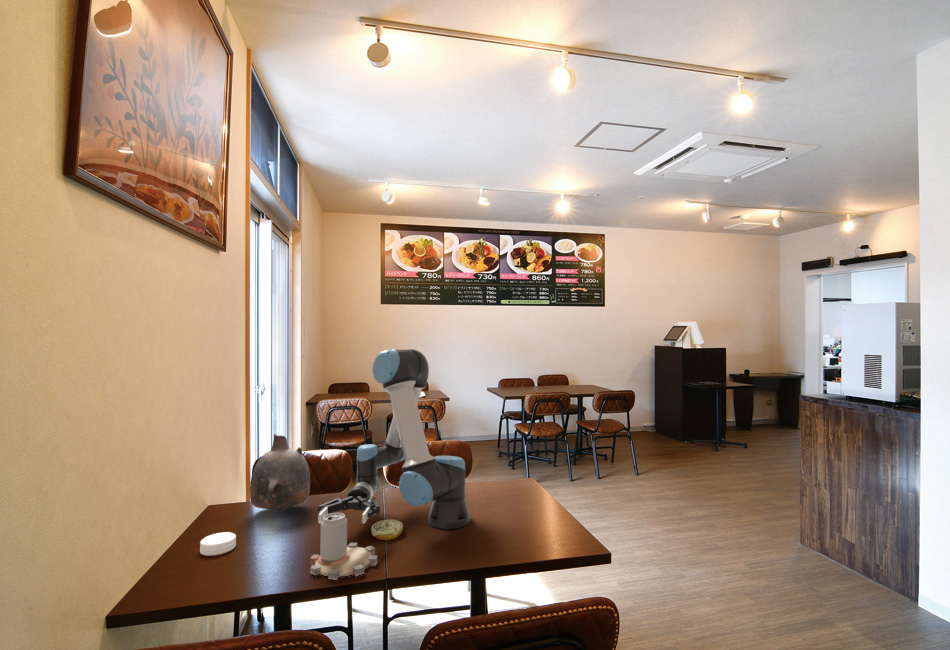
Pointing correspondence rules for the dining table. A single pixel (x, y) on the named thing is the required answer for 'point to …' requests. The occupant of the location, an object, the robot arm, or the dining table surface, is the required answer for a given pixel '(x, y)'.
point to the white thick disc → (217, 543)
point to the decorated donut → (387, 529)
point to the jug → (280, 477)
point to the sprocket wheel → (345, 562)
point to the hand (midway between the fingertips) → (341, 519)
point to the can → (333, 537)
